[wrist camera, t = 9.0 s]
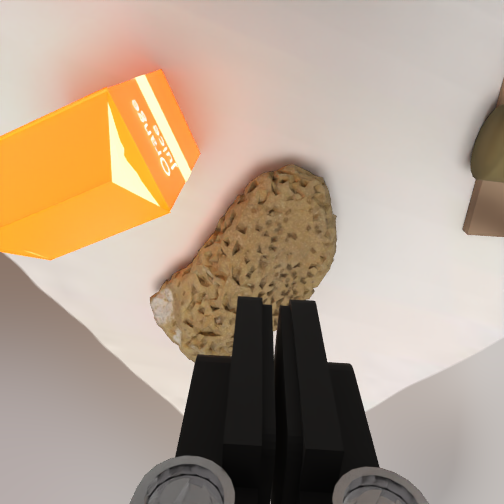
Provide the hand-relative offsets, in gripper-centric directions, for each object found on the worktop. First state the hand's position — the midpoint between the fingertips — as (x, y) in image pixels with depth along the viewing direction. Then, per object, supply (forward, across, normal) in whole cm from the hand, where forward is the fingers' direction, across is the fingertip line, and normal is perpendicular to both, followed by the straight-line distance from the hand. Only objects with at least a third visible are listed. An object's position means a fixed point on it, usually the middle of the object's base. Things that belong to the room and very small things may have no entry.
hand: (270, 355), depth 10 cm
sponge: (+32, +1, +13) cm, 35 cm away
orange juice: (+32, +11, +2) cm, 34 cm away
